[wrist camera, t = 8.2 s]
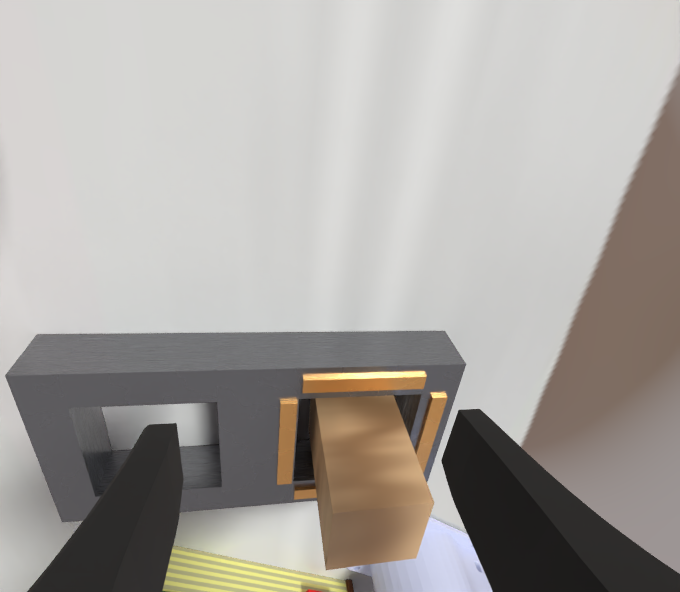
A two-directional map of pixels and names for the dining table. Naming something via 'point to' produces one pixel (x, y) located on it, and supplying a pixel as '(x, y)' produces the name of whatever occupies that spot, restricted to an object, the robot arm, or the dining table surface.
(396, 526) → the wooden block
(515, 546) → the robot arm
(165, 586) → the hardcover book
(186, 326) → the dining table surface
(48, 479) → the grey slotted holder
